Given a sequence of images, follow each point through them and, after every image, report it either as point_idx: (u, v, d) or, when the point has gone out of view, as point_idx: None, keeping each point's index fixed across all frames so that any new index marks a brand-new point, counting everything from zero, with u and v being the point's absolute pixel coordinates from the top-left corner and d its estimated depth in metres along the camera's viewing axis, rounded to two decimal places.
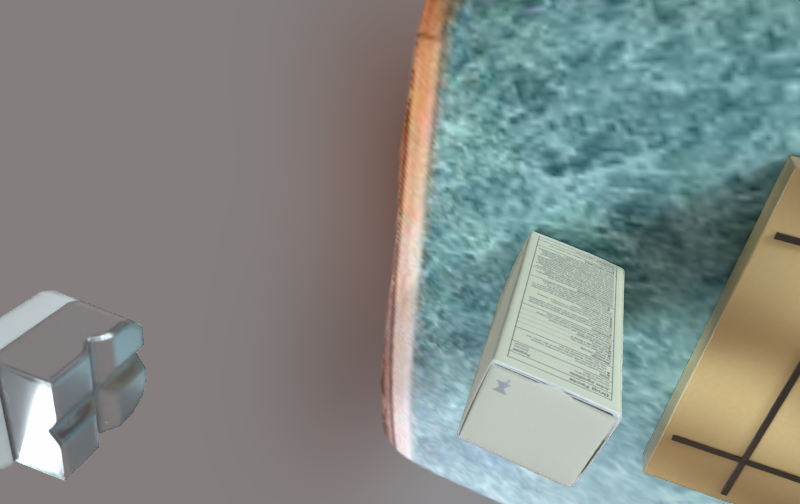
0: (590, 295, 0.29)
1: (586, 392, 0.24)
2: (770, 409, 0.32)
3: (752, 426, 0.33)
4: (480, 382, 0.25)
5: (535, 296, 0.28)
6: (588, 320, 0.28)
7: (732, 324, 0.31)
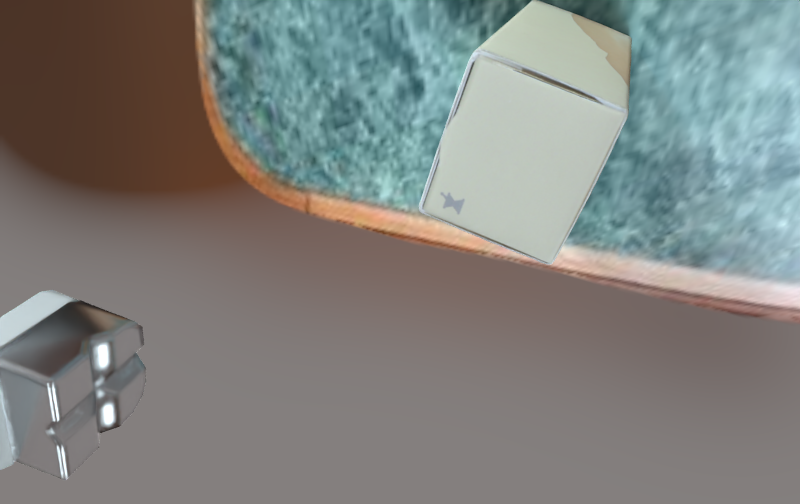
0: None
1: (457, 95, 0.18)
2: None
3: None
4: (457, 227, 0.19)
5: None
6: None
7: None
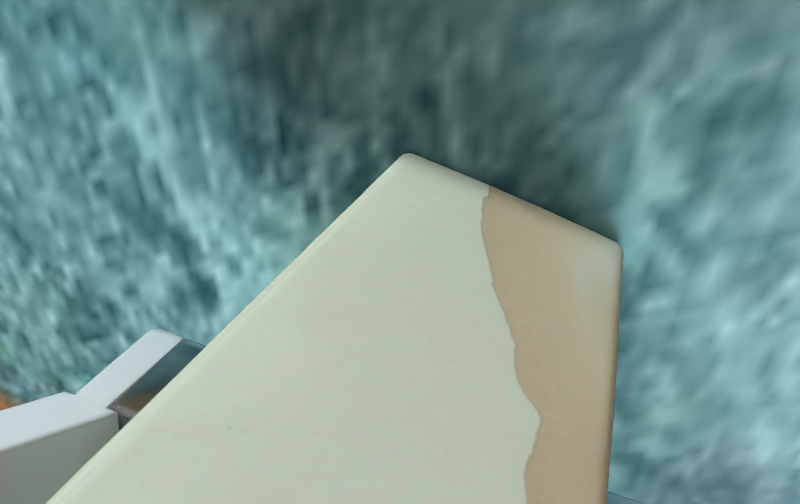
0: None
1: None
2: None
3: None
4: None
5: None
6: None
7: None
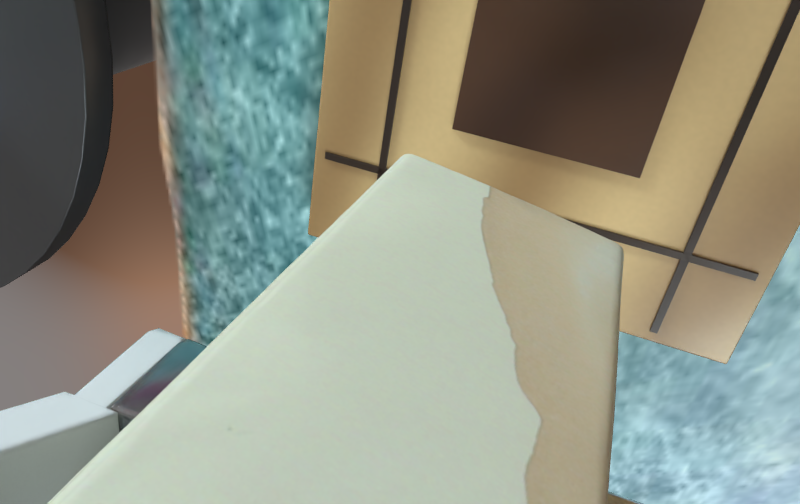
0: None
1: None
2: None
3: (623, 249, 0.25)
4: None
5: None
6: None
7: None
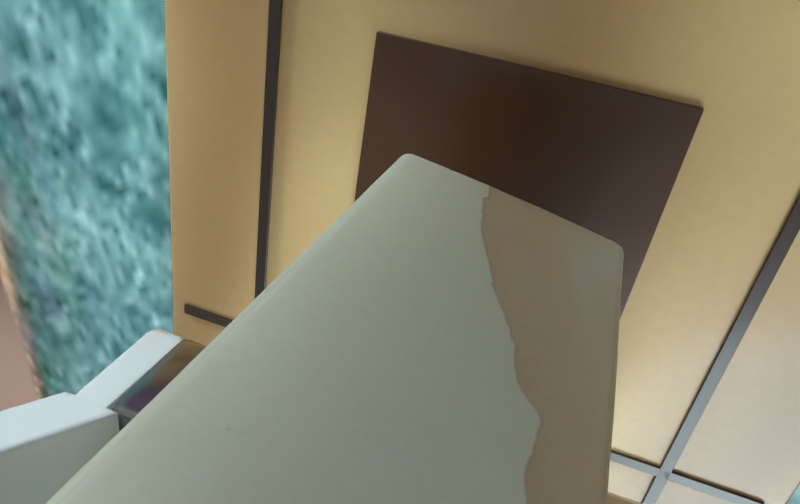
0: None
1: None
2: None
3: None
4: None
5: None
6: None
7: None
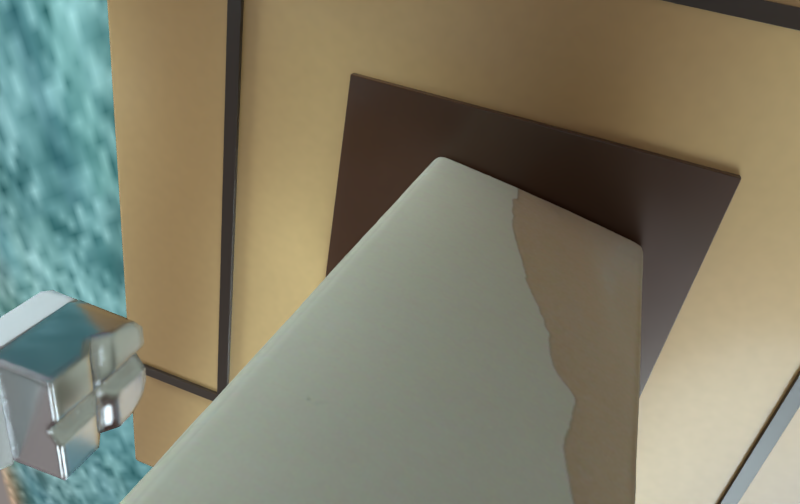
0: None
1: None
2: None
3: None
4: None
5: None
6: None
7: None
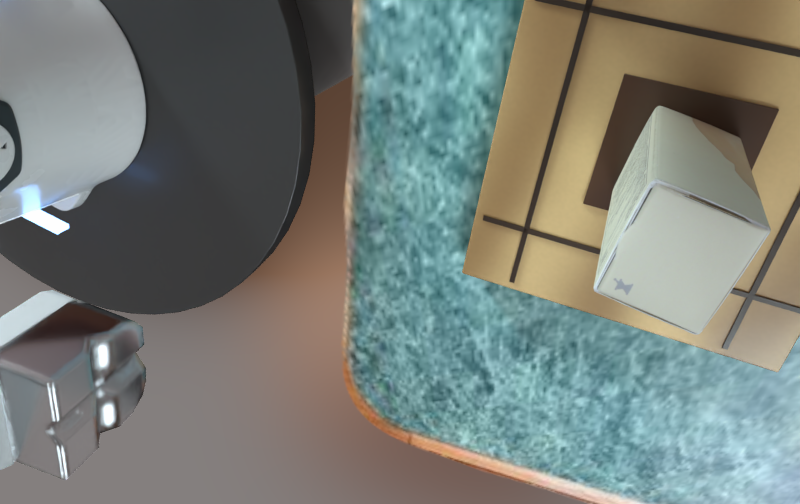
0: (636, 158, 0.30)
1: (633, 208, 0.24)
2: None
3: None
4: (623, 303, 0.25)
5: (610, 218, 0.29)
6: (635, 172, 0.28)
7: (592, 304, 0.38)
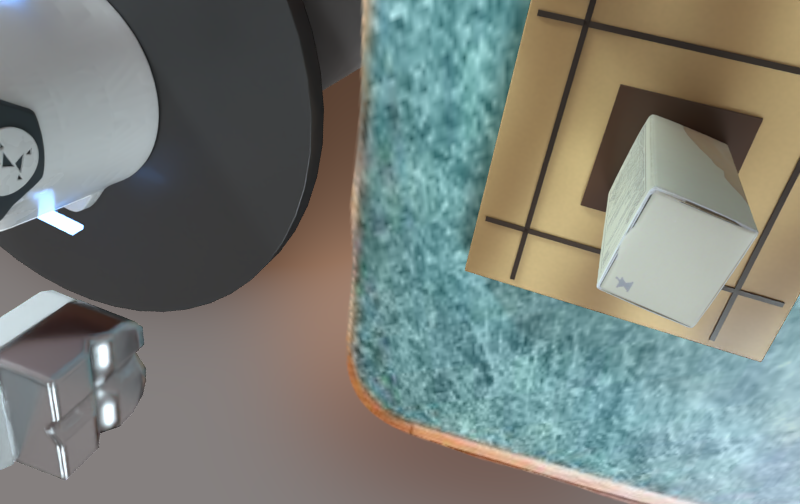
0: (633, 164, 0.32)
1: (634, 213, 0.26)
2: None
3: None
4: (624, 299, 0.28)
5: (609, 220, 0.32)
6: (632, 178, 0.30)
7: (588, 300, 0.41)
